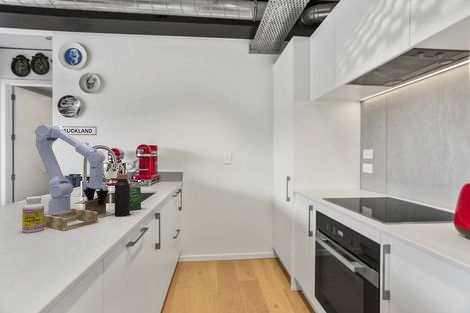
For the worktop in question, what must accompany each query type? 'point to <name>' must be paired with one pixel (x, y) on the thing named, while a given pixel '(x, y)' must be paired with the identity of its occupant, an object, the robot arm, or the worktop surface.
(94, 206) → the walnut board
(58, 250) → the worktop surface
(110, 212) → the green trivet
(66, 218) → the pine offcut
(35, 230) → the supplement bottle
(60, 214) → the grey offcut
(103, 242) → the worktop surface
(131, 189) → the coffee box
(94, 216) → the oak rack
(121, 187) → the vinegar
